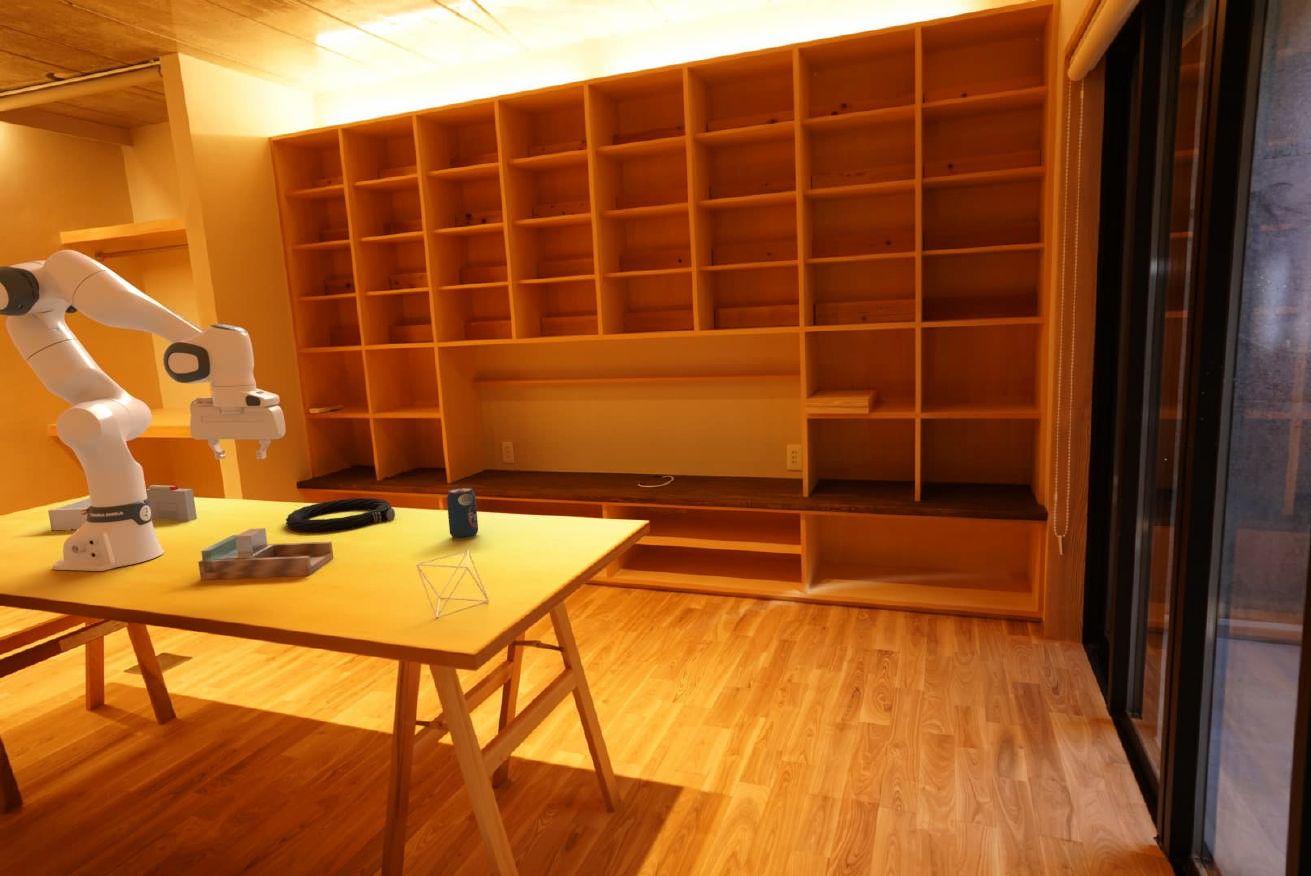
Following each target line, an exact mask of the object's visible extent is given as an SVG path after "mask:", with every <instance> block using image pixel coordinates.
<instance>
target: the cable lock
mask: <svg viewBox="0 0 1311 876" xmlns="http://www.w3.org/2000/svg"><path fill="white" fill-rule="evenodd" d="M352 510H353V511H354V510H355V511H356V510H358V511H360V510H362V511H363V510H366V511H365V512H363V513H359V514H358V513H357V514H354V515H353V514H352V515H347V516H343V517H335V518H334V517H332V518H323V519H322V518H321V519H319V518H317V519H311V518H313V517H316V516H319V515H326V514H332V513H335V512H344V511H345V512H346V511H352ZM367 510H369V511H367ZM395 517H396V511H395V509H394V508H393V507H392V505H391V504H390V503H389V502H388V501H386V500H385V499H379V498H374V497H373V498H372V497H364V498H362V497H359V498H357V497H351V498H344V499H342V498H341V499H337V500H336V499H335V500H331V501H322V502H319V503H315V504H310V505H307V506H303V507H301V508H299V509H296V510H295V509H294V510H293V511H292V512H291V513H290V514H288V515H287V517H286V519H285V521H286V522H285V525H286V526H287V528H288V529H291V530H292V531H294V532H301V533H327V532H338V531H339V532H340V531H345V530H350V529H356V528H361V527H366V526H368V525H371V524H374V525H375V524H378V523H381V522H383V523H384V522H387V521H389V522H392V521H394V520H395Z"/></svg>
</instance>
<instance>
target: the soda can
mask: <svg viewBox="0 0 1311 876" xmlns="http://www.w3.org/2000/svg"><path fill="white" fill-rule="evenodd" d="M476 499H477V498H476V494H475V492H474V491H473V487H470V486H459V487H454V488H451V489H449V490H448V494H447V495H446V503H447V505H446V506H447V516H448V518H447V519H448V527H449V529H448V531H449V534H450V536H451V537H452V539H455V540H458V541H459V540H469V539H472V538H475V537H476V536H477V534H478V532H479V523H478V521H479V520H478V512H477V500H476Z"/></svg>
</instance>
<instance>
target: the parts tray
mask: <svg viewBox="0 0 1311 876" xmlns="http://www.w3.org/2000/svg"><path fill="white" fill-rule="evenodd" d="M90 506H91V499H90V497H88V498H84V499H81V500H78V501H74V502H71V503H67V504H65V505H61V506H59V507H54V508H52V509H49V510H47V512H48V517H49V524H50V527H51V528H50V529H51V531H52V530H65V531H70V530H69V529H79V528H80V527H81V526H82V525H83V524H85V523H86V522H87V521H86V519H87V515H88V514H85V515H81V514H82V513H84V512H85V511H82V510H85V509H88V507H90ZM81 511H82V512H81Z"/></svg>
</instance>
